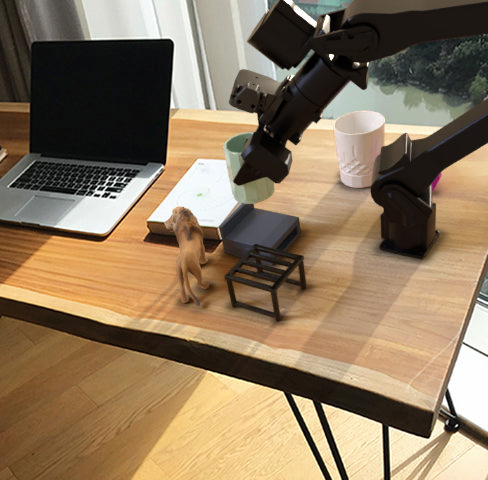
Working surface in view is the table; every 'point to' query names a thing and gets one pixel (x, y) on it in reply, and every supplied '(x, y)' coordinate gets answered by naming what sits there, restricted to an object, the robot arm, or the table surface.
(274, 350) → the table surface
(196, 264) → the lion figurine
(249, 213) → the shelf
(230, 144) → the tumbler
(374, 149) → the white cup
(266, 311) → the rack
